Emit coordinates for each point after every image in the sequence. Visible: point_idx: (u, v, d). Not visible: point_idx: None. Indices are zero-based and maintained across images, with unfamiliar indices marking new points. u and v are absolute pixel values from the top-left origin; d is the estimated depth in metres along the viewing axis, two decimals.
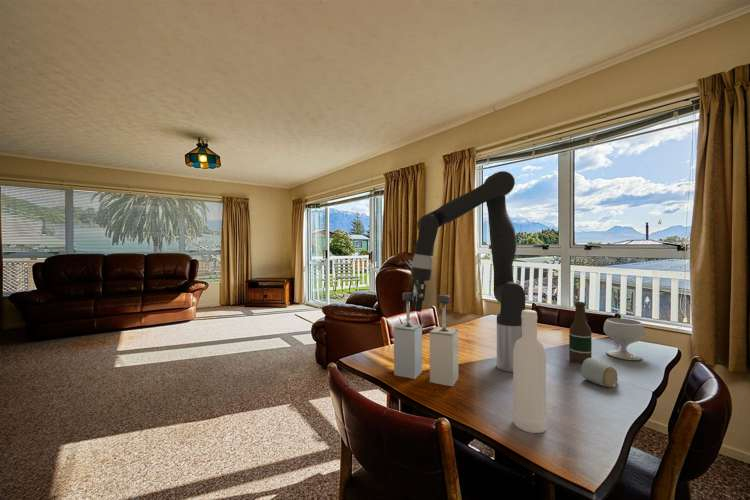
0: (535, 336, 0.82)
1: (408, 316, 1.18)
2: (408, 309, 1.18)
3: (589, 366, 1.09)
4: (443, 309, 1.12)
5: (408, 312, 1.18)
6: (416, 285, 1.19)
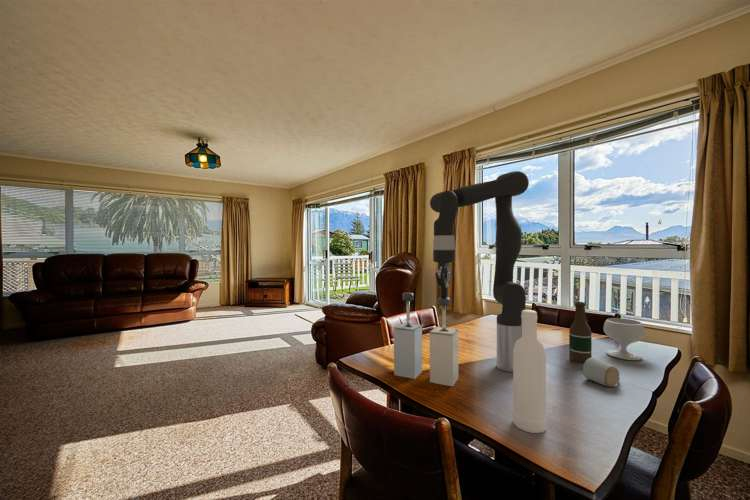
0: (535, 336, 0.82)
1: (408, 316, 1.18)
2: (408, 309, 1.18)
3: (591, 366, 1.09)
4: (443, 311, 1.12)
5: (408, 312, 1.18)
6: (438, 268, 1.11)
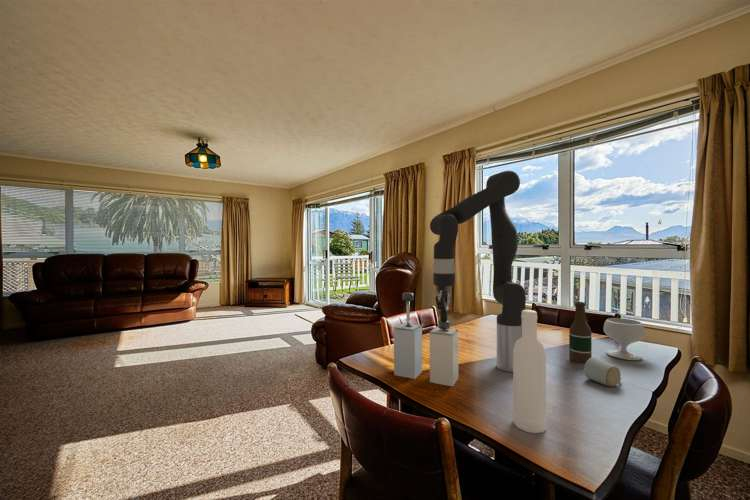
0: (535, 336, 0.82)
1: (408, 316, 1.18)
2: (408, 309, 1.18)
3: (592, 365, 1.09)
4: None
5: (408, 312, 1.18)
6: (438, 292, 1.11)
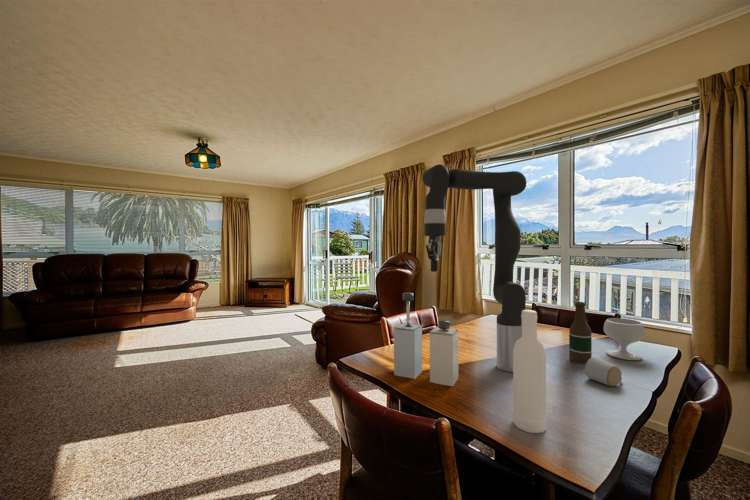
0: (535, 336, 0.82)
1: (408, 316, 1.18)
2: (408, 309, 1.18)
3: (593, 365, 1.09)
4: None
5: (408, 312, 1.18)
6: (429, 242, 1.12)
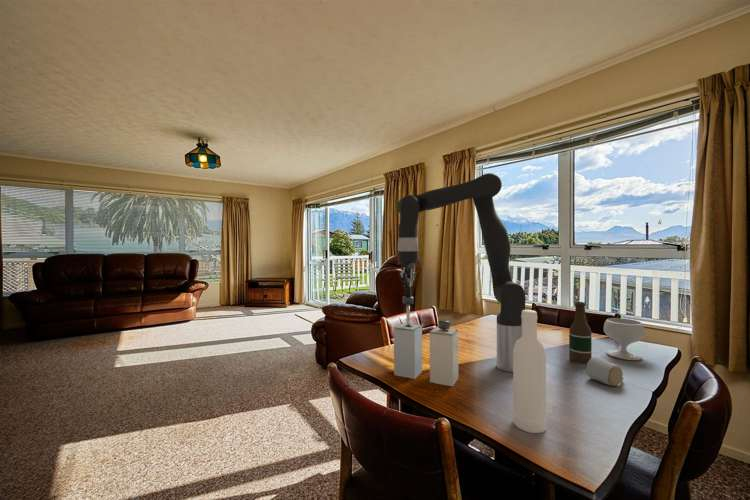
0: (535, 336, 0.82)
1: (408, 319, 1.18)
2: (408, 312, 1.18)
3: (594, 365, 1.10)
4: None
5: (408, 315, 1.18)
6: None
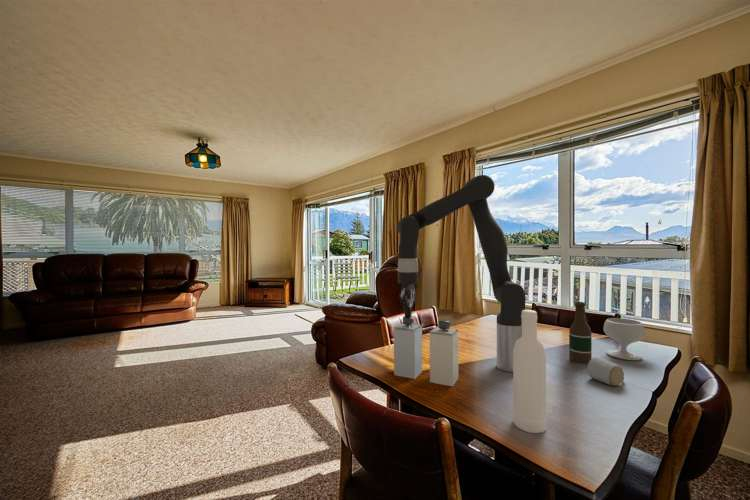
0: (535, 336, 0.82)
1: None
2: None
3: (595, 365, 1.10)
4: None
5: None
6: (402, 289, 1.17)
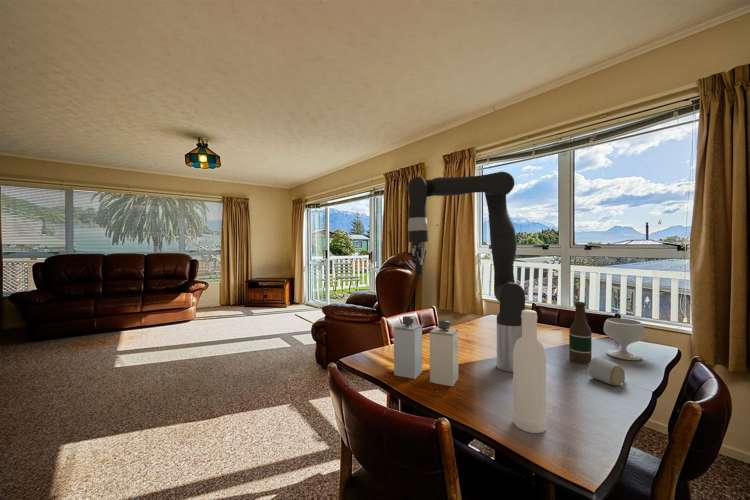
0: (535, 336, 0.82)
1: None
2: None
3: (596, 365, 1.10)
4: None
5: None
6: (413, 248, 1.22)
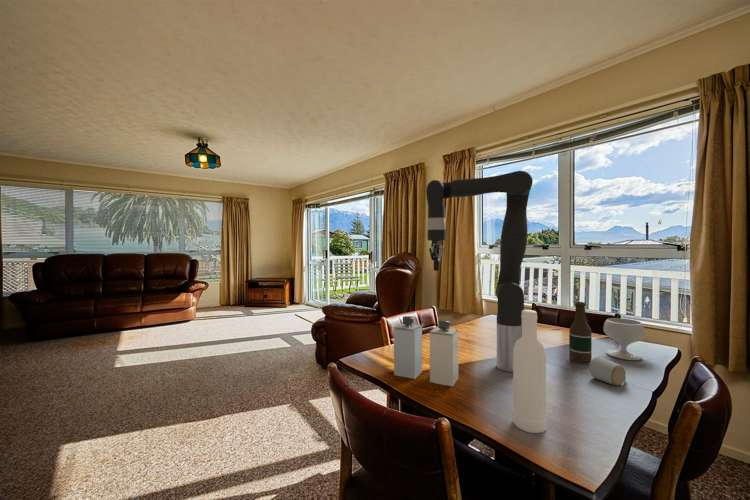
0: (535, 336, 0.82)
1: None
2: None
3: (597, 365, 1.10)
4: None
5: None
6: (431, 245, 1.32)
